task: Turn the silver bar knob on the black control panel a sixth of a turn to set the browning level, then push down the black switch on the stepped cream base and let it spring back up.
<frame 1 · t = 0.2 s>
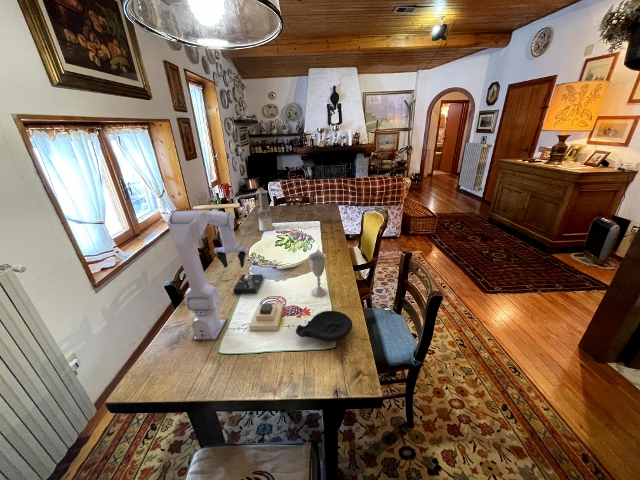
hand: (234, 266, 115), 10 cm above the table, tool pointing down, fingers open, 7 cm apart
switch: (266, 309, 95), point 5 cm above the table, slide at 0.1 cm
oil lamp: (324, 334, 88), on the table
browning panel: (249, 286, 118), on the table
dial: (247, 277, 116), point 4 cm above the table, hinge at 0.0°
lamp: (265, 229, 184), on the table
chalice: (319, 293, 110), on the table
stepped cream base: (267, 318, 97), on the table
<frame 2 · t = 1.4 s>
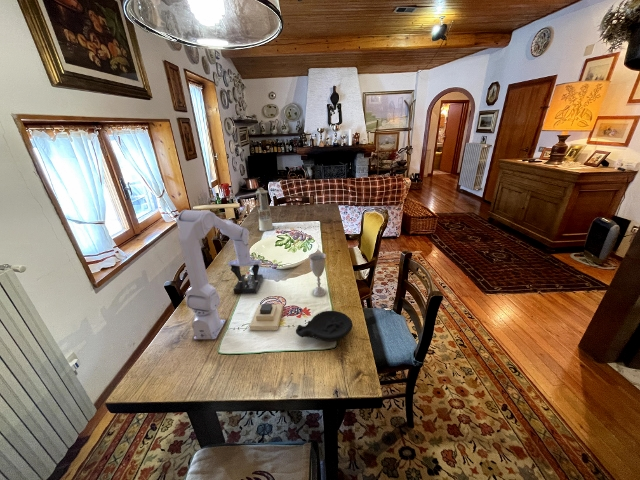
hand: (248, 279, 116), 4 cm above the table, tool pointing down, fingers open, 7 cm apart
nothing on the table moved.
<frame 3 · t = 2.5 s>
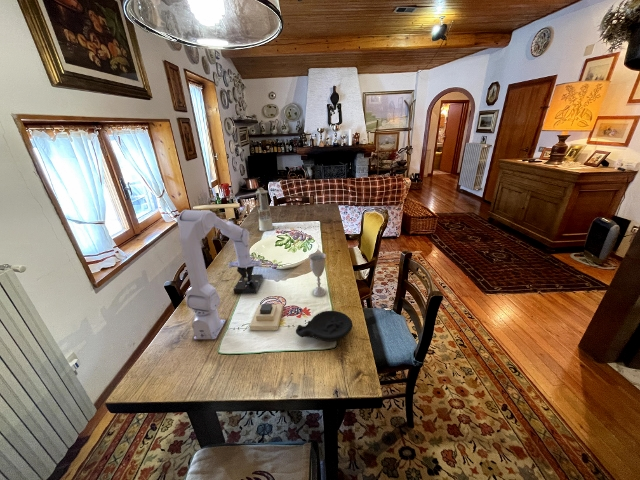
hand: (248, 280, 116), 3 cm above the table, tool pointing down, fingers closed on dial
dial: (247, 277, 116), point 4 cm above the table, hinge at 0.1°, touching gripper
everything else where it was.
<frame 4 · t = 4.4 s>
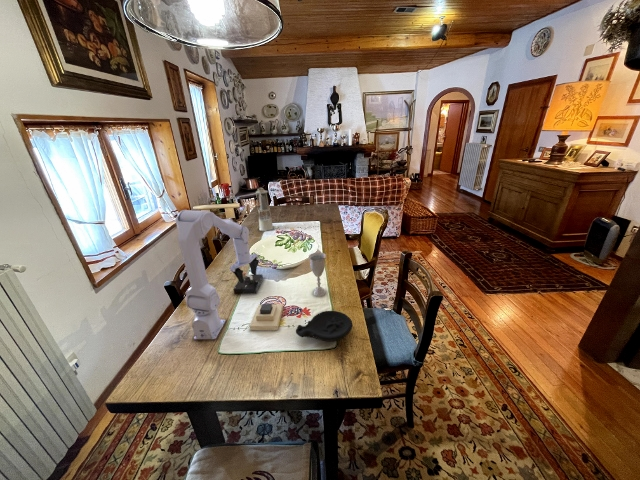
hand: (247, 278, 116), 4 cm above the table, tool pointing down, fingers open, 7 cm apart
dial: (247, 277, 116), point 4 cm above the table, hinge at 59.4°
everything else where it was.
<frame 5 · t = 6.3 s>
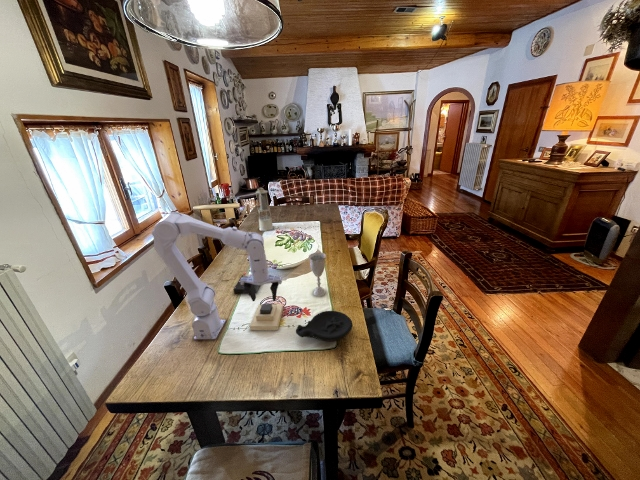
hand: (264, 299, 93), 9 cm above the table, tool pointing down, fingers open, 7 cm apart
nothing on the table moved.
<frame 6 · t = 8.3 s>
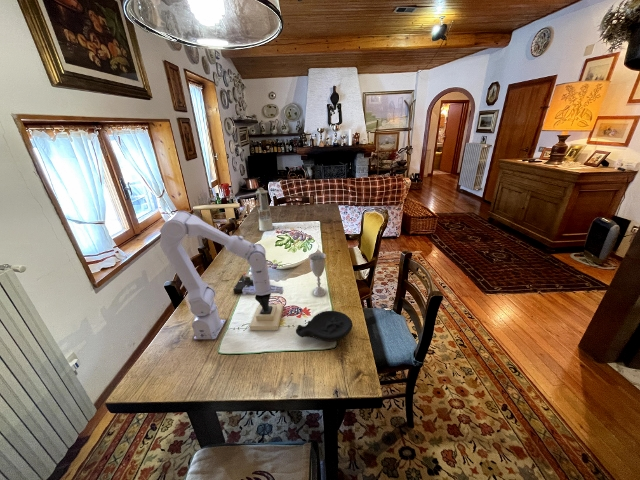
hand: (266, 308, 95), 5 cm above the table, tool pointing down, fingers closed, pressing on switch
switch: (266, 311, 95), point 4 cm above the table, slide at -0.9 cm, touching gripper
everything else where it was.
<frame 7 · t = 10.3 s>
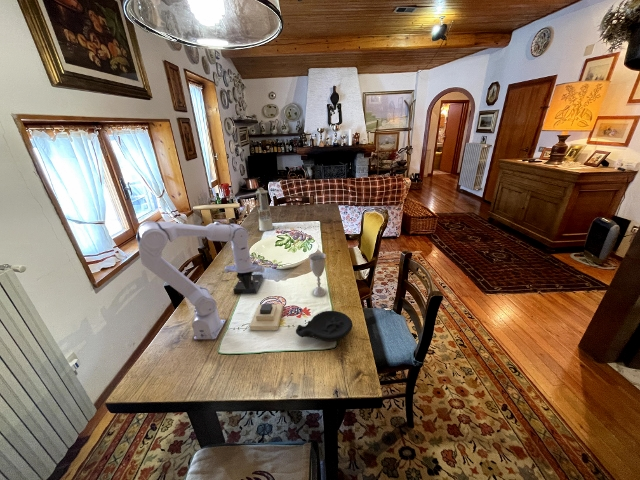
hand: (248, 287, 98), 10 cm above the table, tool pointing down, fingers closed
switch: (266, 309, 95), point 5 cm above the table, slide at 0.1 cm
everything else where it was.
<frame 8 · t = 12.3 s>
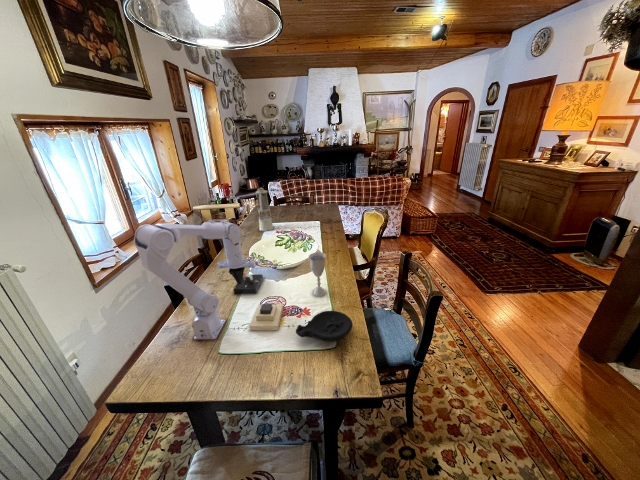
hand: (240, 282, 101), 10 cm above the table, tool pointing down, fingers closed
nothing on the table moved.
at the end: dial at +59° (first picture: +0°); switch pushed in 1.4 cm at the most during the clip, back to where it started at the end; switch slide at 0.1 cm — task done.
